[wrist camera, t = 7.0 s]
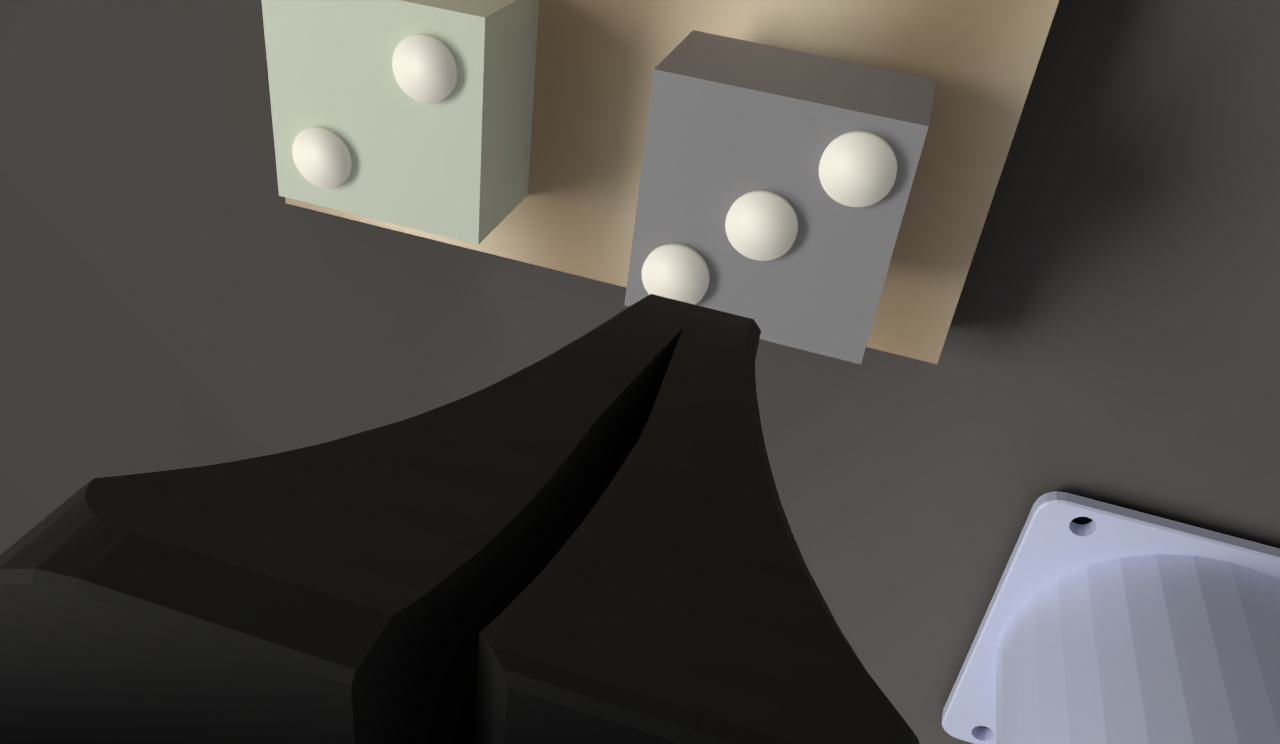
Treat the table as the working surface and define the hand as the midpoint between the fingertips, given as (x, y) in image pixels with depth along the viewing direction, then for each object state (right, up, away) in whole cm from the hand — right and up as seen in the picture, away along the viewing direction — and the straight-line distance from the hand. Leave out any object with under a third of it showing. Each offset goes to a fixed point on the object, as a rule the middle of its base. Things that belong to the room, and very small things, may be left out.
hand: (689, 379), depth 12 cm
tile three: (+2, +4, +6) cm, 7 cm away
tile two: (-4, +6, +8) cm, 10 cm away
